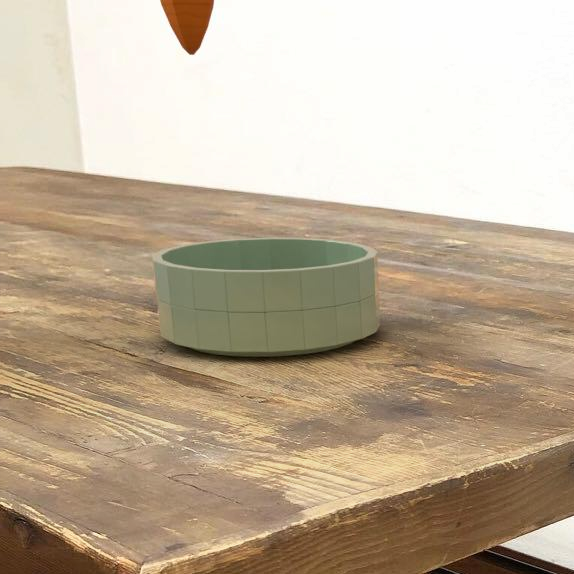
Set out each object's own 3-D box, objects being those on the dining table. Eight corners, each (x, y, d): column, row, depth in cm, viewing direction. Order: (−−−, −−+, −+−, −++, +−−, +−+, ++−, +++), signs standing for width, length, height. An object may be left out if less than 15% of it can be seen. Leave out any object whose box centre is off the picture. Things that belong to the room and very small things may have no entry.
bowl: (134, 361, 76) (123, 270, 74) (191, 314, 89) (184, 236, 87) (366, 362, 76) (362, 272, 74) (389, 316, 89) (386, 238, 87)
